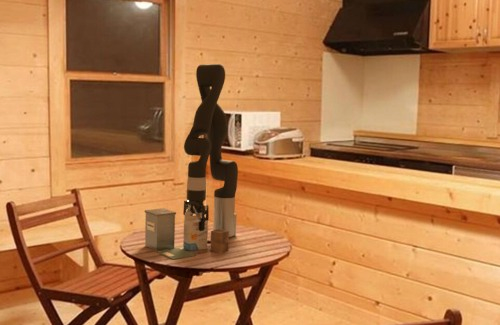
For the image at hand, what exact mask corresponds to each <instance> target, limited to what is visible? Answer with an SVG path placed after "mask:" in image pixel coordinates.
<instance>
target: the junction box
mask: <svg viewBox="0 0 500 325" xmlns="http://www.w3.org/2000/svg"><path fill="white" fill-rule="evenodd" d="M144 213H145V225H144V226H145V227H144V228H145V229H144V230H145V231H144V236H145V237H144V239H145V240H144V243H145V244H144V245H145V248H148V249H150V250H153V251H155V252H157V251H163V250H169V249H175V236H176V235H175V232H176V231H175V230H176V215H177V212H176V211H173V210H169V209H166V208H164V207H163V208H155V209H152V208H151V209H144Z"/></svg>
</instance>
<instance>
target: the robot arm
mask: <svg viewBox="0 0 500 325" xmlns="http://www.w3.org/2000/svg"><path fill="white" fill-rule="evenodd" d="M195 72H196V74H195V76H196V84H197V86H198V90H199V94H200V99H201V103H200V104H199V105H198V107H197V108H196V110H195V115H194V119H193V123H192V128H191V129H190V131H189V133H188V135H187V136H186V139H185V141H184V145H183V149H184V153H185V154H186V155H188V156H195V157H196V156H197V157H199V159H198V160H195V161H190V162H188V165H187V181H186V199H185V200H184V201H183V215H184V216H185V212H192V213H193V214H191V215H190V216H194V215H195V216H197V217H198V219H199V231H204V229H205V221H207V220H208V221H209V218H210V217H209V214H210V213H209V212H210V210H209V204H204V201H206V200H207V199H206V198H207V178H206V177H207V165H208V160H209V165H210V166H209V168H210V175H211V177H212V179H214V180H215V181H220V182H224V183H223V186H222V187H219V188H216V189H215V190H214V192H213V194H214V195H213V222H212V226H213V227H212V231H214V230H217V229H221V230H226V231H229V238H231V237H234V236H237V213H235V212H236V211H235V210H236V209H235V208H236V192H237V188H238V175H239V174H238V173H239V168H238V164H237V162H236V161H234V160H229V159H228V160H227V159H223V157H222V147H223V145H224V142H225V140H226V137H227V135H228V132H229V131H228V130H229V127H228V126H229V125H228V121H227V115H226V112H225V111H224V110H223V109H222V107H221V106H220V105H219V103H218V102H219V98H220V95H221V93H222V90H223V88H224V84H225V80H226V70H225V67H224V66H223V65H222V64H220V63H207V64H199V65H198V66H197V68H196V71H195ZM204 135H206V136H207V138H206V137H202V136H204ZM200 213H201V214H200ZM201 216H202V218H201Z"/></svg>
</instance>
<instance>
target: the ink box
mask: <svg viewBox="0 0 500 325" xmlns="http://www.w3.org/2000/svg"><path fill="white" fill-rule="evenodd" d="M191 214H193V213H192V212H187V211H186V212H185V215H184V219H183V240H182V241H183V243H182V244H183V245H182V246H183V247H182V248H183V250H185V251H187V252H190V251H198V250H199V251H201V250H208V239H209V238H208V235H209V233H208V232H209V220H207V221H205V229H204V231H199V219H198V217H197V216H196V215H194V214H193V216H190V215H191ZM200 214H201V213H200ZM201 218H202V216H201Z"/></svg>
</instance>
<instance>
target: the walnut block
mask: <svg viewBox="0 0 500 325" xmlns="http://www.w3.org/2000/svg"><path fill="white" fill-rule="evenodd" d="M229 238H230V237H229V231H226V230H221V229H217V230H214V231H213V230H212V231H210V252H213V253H217V254H223V253H226V252H228V251H229V244H230V243H229V242H230V240H229Z"/></svg>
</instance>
